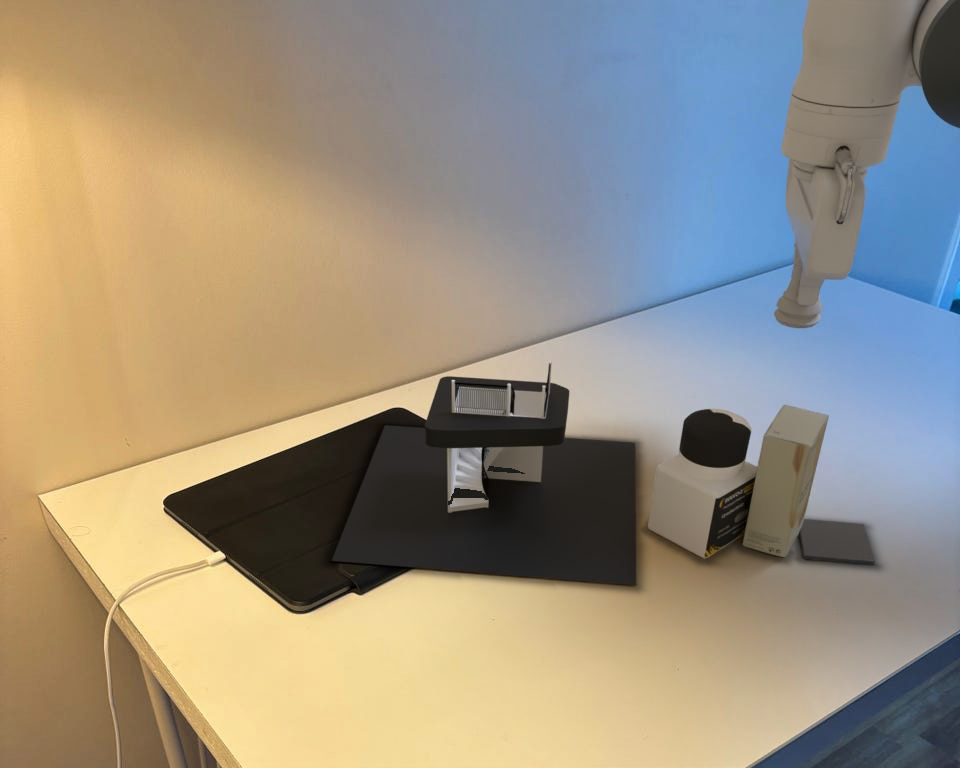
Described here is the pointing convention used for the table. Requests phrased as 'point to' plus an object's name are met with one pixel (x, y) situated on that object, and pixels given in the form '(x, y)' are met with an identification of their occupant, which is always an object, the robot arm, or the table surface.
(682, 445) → the medicine bottle
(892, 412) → the table surface
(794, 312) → the rook chess piece
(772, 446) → the cosmetic box
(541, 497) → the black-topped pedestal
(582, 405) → the table surface
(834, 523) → the slate coaster
